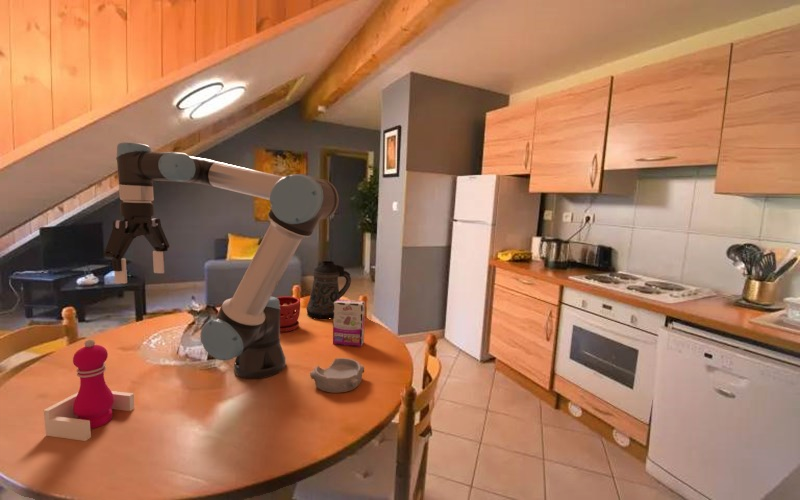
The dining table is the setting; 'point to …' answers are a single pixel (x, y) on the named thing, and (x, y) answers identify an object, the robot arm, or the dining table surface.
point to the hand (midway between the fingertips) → (141, 277)
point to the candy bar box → (348, 322)
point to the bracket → (66, 423)
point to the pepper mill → (92, 385)
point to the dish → (338, 376)
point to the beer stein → (326, 289)
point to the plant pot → (289, 313)
